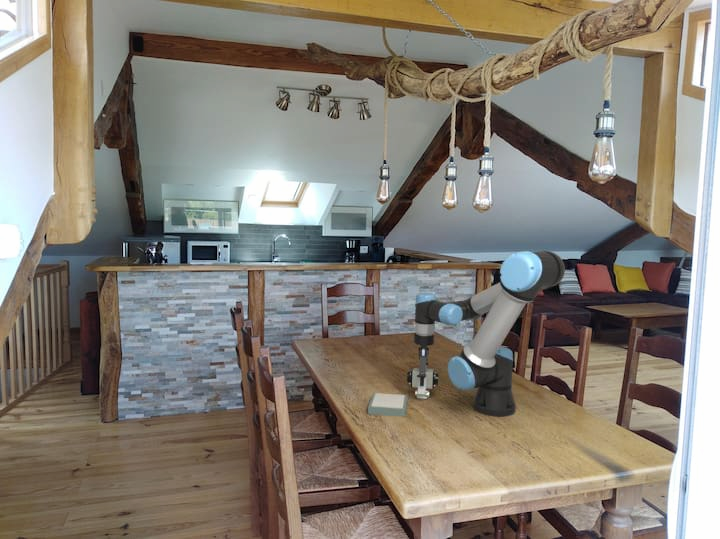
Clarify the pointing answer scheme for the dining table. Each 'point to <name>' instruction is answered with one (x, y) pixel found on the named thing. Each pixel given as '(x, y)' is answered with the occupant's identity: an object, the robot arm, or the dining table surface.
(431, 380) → the pneumatic valve
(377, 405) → the stand
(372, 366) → the dining table surface
